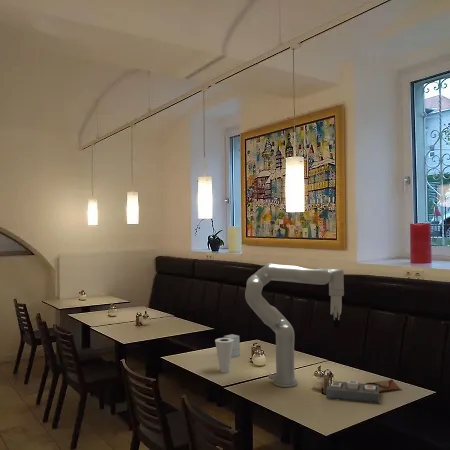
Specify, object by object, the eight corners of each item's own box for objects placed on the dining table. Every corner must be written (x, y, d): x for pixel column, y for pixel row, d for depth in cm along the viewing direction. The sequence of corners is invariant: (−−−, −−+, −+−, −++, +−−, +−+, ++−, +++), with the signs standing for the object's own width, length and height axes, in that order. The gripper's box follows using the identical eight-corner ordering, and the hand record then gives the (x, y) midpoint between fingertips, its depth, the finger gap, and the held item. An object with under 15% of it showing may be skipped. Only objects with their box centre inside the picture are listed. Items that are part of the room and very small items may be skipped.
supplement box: (232, 353, 324) (232, 333, 323) (240, 355, 318) (239, 335, 318) (223, 355, 319) (223, 335, 319) (231, 358, 313) (230, 337, 313)
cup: (234, 369, 290) (234, 337, 290) (233, 374, 279) (232, 342, 279) (216, 368, 291) (216, 337, 291) (214, 374, 280) (213, 342, 280)
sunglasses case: (373, 394, 244) (369, 381, 247) (366, 398, 250) (361, 384, 253) (403, 390, 251) (399, 376, 254) (395, 393, 256) (391, 380, 259)
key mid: (347, 391, 241) (347, 382, 241) (348, 388, 246) (347, 379, 246) (357, 392, 240) (357, 383, 240) (358, 388, 245) (358, 380, 244)
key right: (364, 396, 239) (364, 388, 239) (365, 393, 244) (364, 384, 244) (375, 397, 237) (375, 388, 237) (375, 394, 242) (375, 385, 242)
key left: (330, 393, 244) (330, 385, 244) (331, 390, 249) (331, 381, 249) (340, 394, 242) (340, 386, 242) (341, 391, 247) (341, 382, 247)
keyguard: (326, 398, 240) (326, 389, 240) (329, 389, 253) (329, 380, 253) (378, 403, 233) (378, 393, 233) (379, 394, 245) (379, 384, 245)
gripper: (330, 290, 271) (331, 324, 271) (327, 294, 256) (327, 330, 257) (344, 290, 268) (345, 325, 268) (342, 294, 254) (343, 331, 254)
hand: (336, 327), depth 262 cm, fingers closed
